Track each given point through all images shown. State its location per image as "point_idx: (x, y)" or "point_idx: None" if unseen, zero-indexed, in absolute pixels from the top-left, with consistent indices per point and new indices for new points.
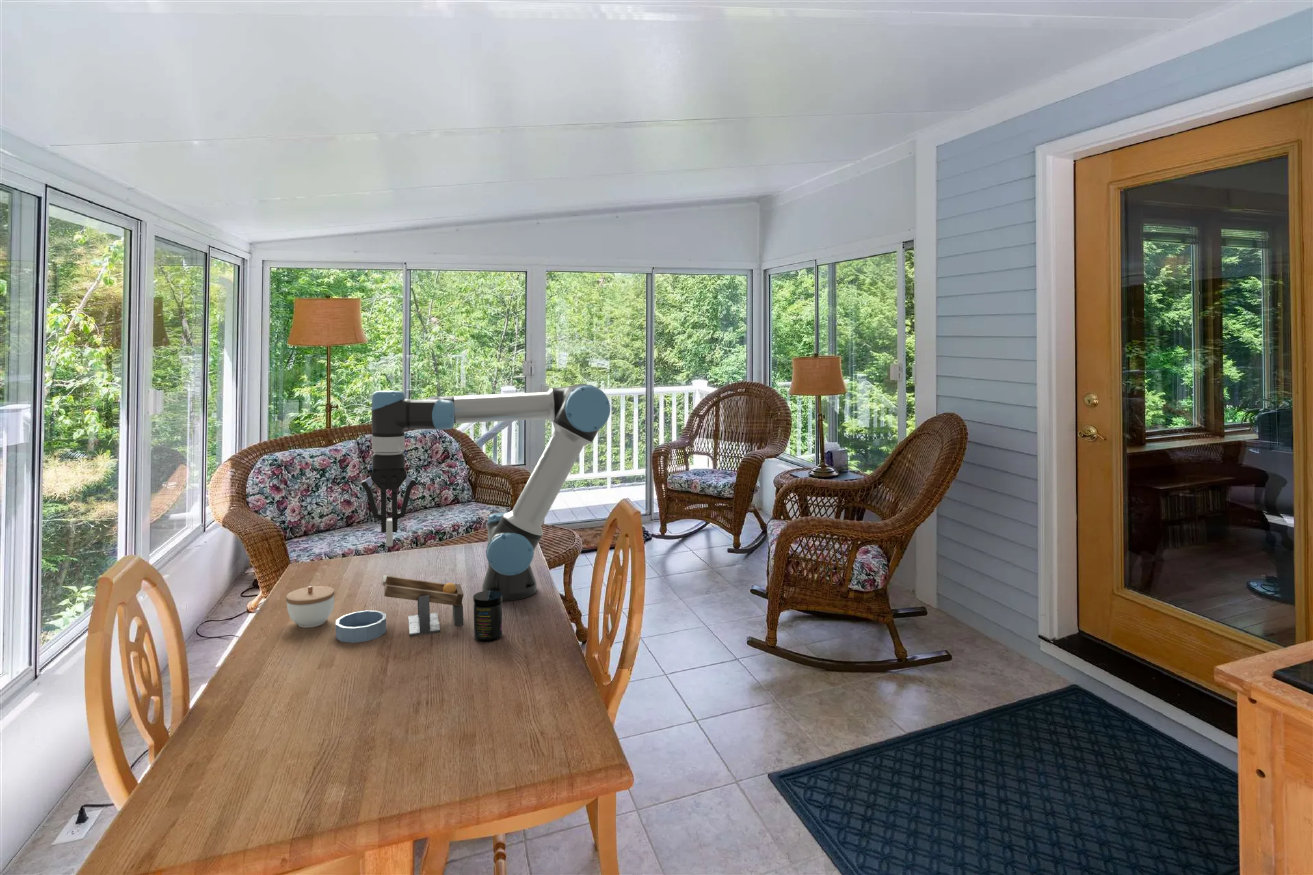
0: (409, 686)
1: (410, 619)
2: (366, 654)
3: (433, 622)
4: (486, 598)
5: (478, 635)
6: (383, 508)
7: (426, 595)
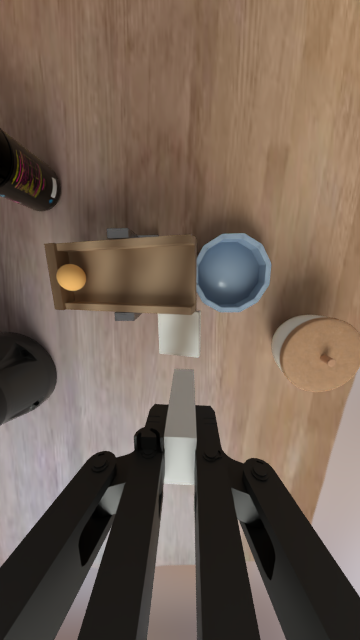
0: (156, 12)
1: None
2: (220, 182)
3: None
4: None
5: (47, 165)
6: (219, 532)
7: (112, 233)
